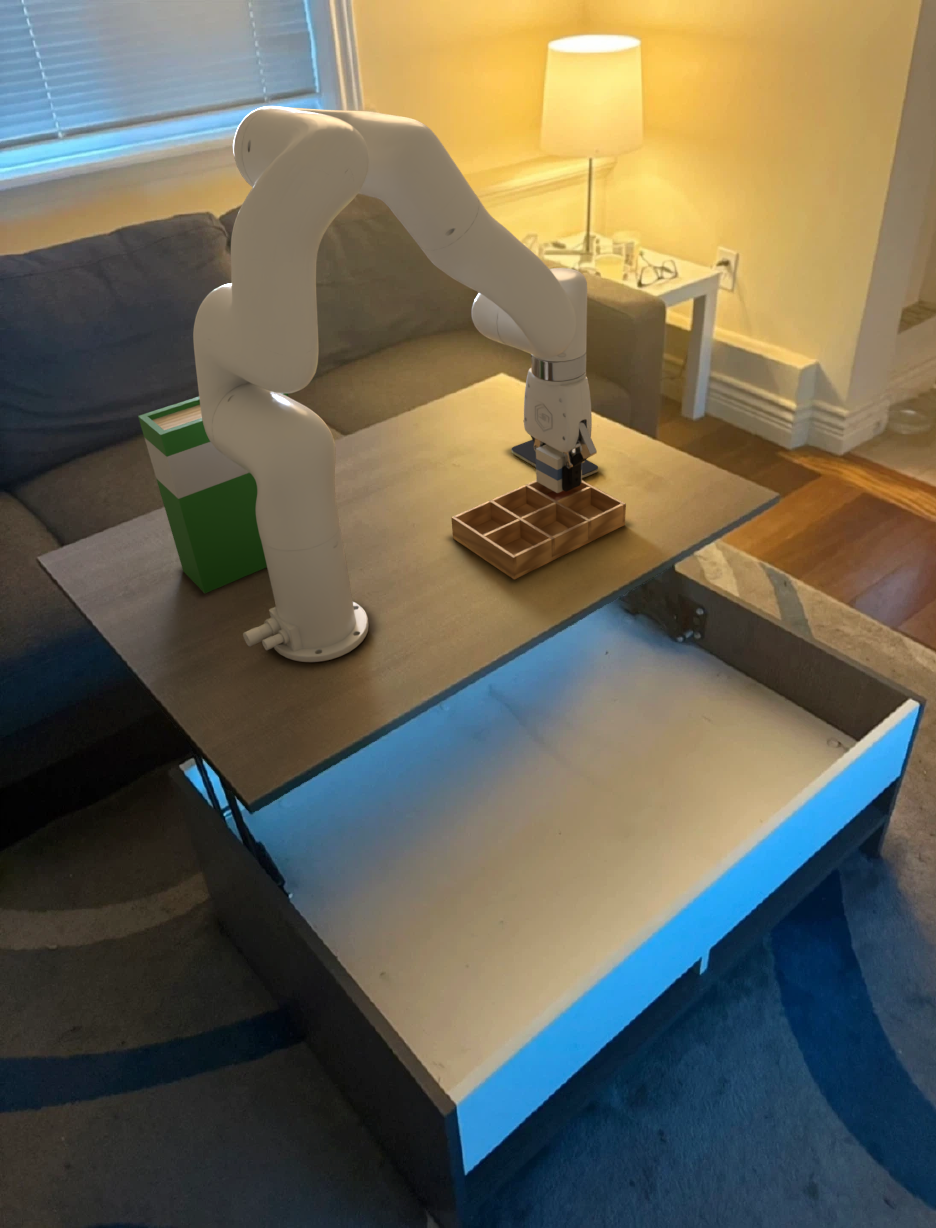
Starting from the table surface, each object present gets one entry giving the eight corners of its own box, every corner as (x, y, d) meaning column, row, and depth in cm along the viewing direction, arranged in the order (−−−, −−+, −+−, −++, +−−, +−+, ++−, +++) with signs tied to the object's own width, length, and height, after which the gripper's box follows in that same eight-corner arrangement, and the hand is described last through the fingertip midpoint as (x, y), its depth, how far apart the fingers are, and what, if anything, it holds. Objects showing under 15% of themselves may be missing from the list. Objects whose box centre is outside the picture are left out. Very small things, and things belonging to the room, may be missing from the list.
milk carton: (557, 493, 139) (557, 455, 135) (535, 481, 142) (535, 444, 138) (582, 482, 141) (582, 444, 137) (560, 470, 144) (560, 433, 140)
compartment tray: (514, 579, 129) (513, 557, 127) (452, 538, 138) (451, 517, 136) (625, 524, 139) (626, 503, 136) (560, 489, 148) (560, 468, 146)
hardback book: (291, 526, 144) (261, 376, 129) (316, 546, 139) (287, 392, 124) (183, 570, 136) (138, 415, 121) (204, 593, 131) (160, 434, 116)
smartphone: (543, 435, 161) (601, 467, 151) (543, 438, 162) (601, 471, 151) (508, 448, 158) (565, 481, 148) (508, 451, 159) (565, 485, 148)
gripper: (498, 354, 134) (503, 469, 145) (580, 390, 123) (578, 511, 134) (539, 340, 138) (540, 453, 149) (622, 374, 126) (617, 493, 137)
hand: (558, 479), depth 141 cm, fingers closed on milk carton, 4 cm apart
